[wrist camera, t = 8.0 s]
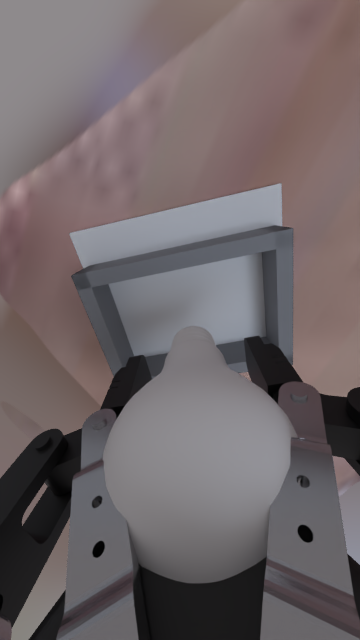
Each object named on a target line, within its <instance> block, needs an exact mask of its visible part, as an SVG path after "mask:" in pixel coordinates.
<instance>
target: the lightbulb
mask: <svg viewBox="0 0 360 640" xmlns="http://www.w3.org/2000/svg"><path fill="white" fill-rule="evenodd" d="M291 437H296V438H297V434H296V432H295V430H294V428H293V426H292V424H291V422H290V420H289V418H288V416H287V415H286V414H285V412H284V411H283V410H282V409H281V408H280V407H279V405H278V404H277V403H276V402H275V401H274V400H273V399H272V398H271V397H270V396H269V395H268V394H267V393H266V392H265V391H264V390H263V389H262V388H260V387H259V386H257V385H256V384H254V383H253V382H251V381H250V380H248V379H247V378H245V377H243V376H242V375H240V374H239V373H237V372H235V371H233V370H231V369H230V368H229V367H228V365H227V364H226V361H225V359H224V356H223V354H222V353H221V351H220V350H219V349H218V348H217V347H216V344H215V342H214V339H213V337H212V335H211V334H210V333H209V332H208V331H207V330H206V329H204V328H202V327H198V326H189V327H185V328H183V329H181V330H180V331H178V332H177V334H176V335H175V336H174V338H173V342H172V346H171V350H170V352H169V353H168V355H167V357H166V359H165V363H164V367H163V369H162V372H161V373H160V374H159V375H157V376H156V377H155V378H153V379H152V380H151V381H150V382H148V383H147V384H146V385H145V386H144V387H142V388H141V389H140V390H139V391H138V392H137V393H136V394H135V395H133V397H132V398H131V399H130V400H129V402H128V403H127V404H126V405H125V406H124V408H123V410H122V411H121V413H120V414H119V416H118V418H117V419H116V421H115V423H114V425H113V427H112V429H111V431H110V434H109V437H108V439H107V442H106V445H105V448H104V453H103V461H104V472H105V481H106V487H107V490H108V492H109V495H110V497H111V499H112V502H113V504H114V505H115V507H116V509H117V510H118V511H119V512H120V513H121V514H122V516H123V517H124V518H125V519H126V520H127V524H128V528H129V532H130V535H131V539H132V542H133V545H134V548H135V551H136V555H137V558H138V563H139V564H140V565H141V566H142V567H144V568H146V569H148V570H150V571H152V572H154V573H156V574H159V575H161V576H164V577H166V578H169V579H172V580H175V581H180V582H185V583H211V582H217V581H221V580H224V579H227V578H229V577H232V576H234V575H237V574H239V573H241V572H243V571H244V570H246V569H248V568H250V567H252V566H254V565H255V564H257V563H258V562H260V561H261V560H263V559H264V558H265V557H266V556H267V548H268V532H269V517H270V505H271V504H272V502H273V501H274V499H275V498H276V496H277V495H278V493H279V492H280V489H281V487H282V484H283V482H284V479H285V477H286V474H287V472H288V469H289V467H290V447H291Z"/></svg>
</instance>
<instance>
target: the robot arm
mask: <svg viewBox="0 0 360 640" xmlns="http://www.w3.org/2000/svg"><path fill="white" fill-rule="evenodd" d="M244 346H245V355H246V364H247V369H248V373H249V375H250V378H251V381H252V382H253V383H254V384H256V385H257V386H259V387H260V388H262V389H263V390H264V391H265V392H266V393H267V394H268V395H269V396H270V397H271V398H272V399H273V400H274V401H275V402H276V403H277V404H278V405H279V407H280V408H281V409H282V410H283V411H284V412H285V414H286V415H287V416H288V418H289V420H290V422H291V424H292V426H293V428H294V430H295V432H296V434H297V438H296V437H291V447H290V467H289V469H288V472H287V474H286V477H285V479H284V482H283V484H282V487H281V489H280V492H279V493H278V495H277V496H276V498H275V499H274V501H273V502H272V504H271V505H270V517H269V532H268V548H267V556H266V557H265V558H264V559H263V560H261V561H260V562H258V563H257V564H255V565H254V566H252V567H250V568H248V569H246V570H244V571H243V572H241V573H239V574H237V575H234V576H232V577H229V578H227V579H224V580H221V581H217V582H211V583H185V582H180V581H175V580H172V579H169V578H166V577H164V576H161V575H159V574H156V573H154V572H152V571H150V570H148V569H146V568H144V567H142V566H141V565H140V564H139V563H138V558H137V555H136V551H135V548H134V545H133V542H132V539H131V535H130V532H129V528H128V524H127V520H126V519H125V518H124V517H123V516H122V514H121V513H120V512H119V511H118V510H117V509H116V507H115V505H114V504H113V502H112V499H111V497H110V495H109V492H108V490H107V487H106V481H105V472H104V461H103V453H104V448H105V445H106V442H107V439H108V437H109V434H110V431H111V429H112V427H113V425H114V423H115V421H116V419H117V418H118V416H119V414H120V413H121V411H122V410H123V408H124V406H125V405H126V404H127V403H128V402H129V400H130V399H131V398H132V397H133V395H135V394H136V393H137V392H138V391H139V390H140V389H141V388H142V387H144V386H145V385H146V384H147V383H148V382H150V381H151V380H152V377H151V374H150V371H149V368H148V365H147V362H146V359H145V356H144V355H138V356H132V357H129V359H128V362H127V364H126V367H122V368H120V370H119V371H118V372H117V373H116V374H115V376H114V378H113V380H112V383H111V385H110V387H109V388H110V389H109V390H108V392H107V395H106V397H105V399H104V402H103V404H102V406H101V409H100V410H99V411H96V412H95V413H93V414H92V415H90V416H89V417H88V418H87V419H86V421H85V422H84V424H83V427H82V428H81V429H79V430H77V431H74V432H72V433H69V434H67V435H63V434H62V432H61V431H60V430H58V429H50V430H47V431H45V432H43V433H41V434H40V435H38V436H37V437H36V438H35V439H33V440H32V442H31V443H30V444H29V445H28V446H27V447H26V449H25V450H24V451H23V452H22V453H21V454H20V456H19V457H18V458H17V459H16V461H15V462H14V463H13V464H12V465H11V467H10V468H9V469H8V470H7V471H6V472H5V474H4V475H3V476H2V477H1V478H0V640H11V633H12V630H11V629H12V627H13V625H14V623H15V621H16V619H17V617H18V615H19V613H20V611H21V609H22V608H23V606H24V604H25V602H26V600H27V598H28V596H29V594H30V592H31V590H32V588H33V586H34V584H35V583H36V580H37V579H38V577H39V575H40V573H41V571H42V569H43V567H44V565H45V563H46V562H47V560H48V558H49V556H50V554H51V552H52V550H53V548H54V546H55V544H56V542H57V540H58V539H59V537H60V535H61V533H62V531H63V529H64V527H65V525H66V523H67V521H68V519H69V517H70V529H69V546H68V561H67V578H66V590H65V591H64V593H63V594H62V595H61V597H60V598H59V599H58V601H57V602H56V603H55V605H54V606H53V608H52V609H51V610H50V612H49V613H48V614H47V616H46V617H45V618H44V620H43V621H42V622H41V624H40V625H39V626H38V628H37V629H36V630H35V632H34V633H33V635H32V636H31V637H30V639H29V640H360V565H359V564H358V563H357V562H356V561H355V560H353V558H352V557H350V556H349V555H348V554H347V549H346V542H345V536H344V529H343V523H342V517H341V510H340V503H339V496H338V490H337V483H336V477H335V470H334V463H333V457H332V456H337V457H343V458H345V460H346V461H347V462H348V463H349V464H350V465H351V466H352V468H353V469H354V470H355V471H356V472H357V473H358V474H359V476H360V387H358V388H354V389H352V390H350V391H349V393H348V395H347V397H339V396H329V395H324V394H320V393H319V392H318V391H317V390H316V389H315V388H314V387H313V386H311V385H309V384H306V383H303V381H302V380H301V378H300V377H299V375H298V374H297V372H296V371H295V370H294V368H293V367H292V365H291V364H290V362H288V359H287V358H286V356H284V354H283V352H282V351H281V349H280V348H279V347H277V346H275V345H274V344H272V343H270V344H264V343H263V341H262V339H261V338H260V336H259V335H258V336H252V337H246V338H244ZM44 483H45V484H46V485H47V486H48V487H47V489H46V491H45V492H44V494H43V495H42V497H41V498H40V500H39V501H38V503H37V504H36V506H35V507H34V509H33V511H32V512H31V514H30V515H29V517H28V518H27V520H26V521H25V523H24V524H23V526H22V517H23V515H24V513H25V511H26V509H27V507H28V506H29V505H30V503H31V501H32V500H33V499H34V497H35V496H36V494H37V493H38V491H39V490H40V488H41V487H42V485H43V484H44Z"/></svg>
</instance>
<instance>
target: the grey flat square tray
mask: <svg viewBox="0 0 360 640" xmlns="http://www.w3.org/2000/svg"><path fill="white" fill-rule="evenodd" d="M69 234H70V237H71V239H72V242H73V244H74V247H75V249H76V252H77V254H78V257H79V259H80V262H81V264H82V267H83V269H82V270H80V271H79V272H77V273H75V274H74V275H72V276H71V277H72V279H73V282H74V284H75V286H76V289H77V291H78V293H79V296H80V298H81V300H82V303H83V305H84V307H85V310H86V312H87V315H88V317H89V319H90V322H91V324H92V326H93V329H94V331H95V333H96V336H97V338H98V340H99V343H100V345H101V347H102V350H103V352H104V355H105V357H106V359H107V362H108V364H109V366H110V369H111V371H112V373H113V376H115V374H116V373H117V372H118V371H119V370H120V368H122V367H126V364H127V362H128V359H129V357H132V356H138V355H144V356H145V359H146V362H147V365H148V368H149V371H150V374H151V377H152V379H153V378H155V377H156V376H157V375H159V374H160V373H161V372H162V369H163V367H164V363H165V359H166V357H167V355H168V353H169V352H170V350H171V346H172V342H173V338H174V336H175V335H176V334H177V332H178V331H180V330H181V329H183V328H185V327H189V326H198V327H202V328H204V329H206V330H207V331H208V332H209V333H210V334H211V335H212V337H213V339H214V342H215V344H216V347H217V348H218V349H219V350H220V351H221V353H222V354H223V356H224V359H225V361H226V364H227V365H228V367H229V368H230V369H231V370H233V371H235V372H237V373H243V372H248V369H247V364H246V355H245V346H244V338H246V337H252V336H258V335H259V336H260V338H261V339H262V341H263V343H264V344H270V343H272V344H274V345H275V346H277V347H279V348H280V349H281V351H282V352H283V354H284V356H286V358H287V359H288V362H290V364H291V365H293V228H289V227H283V226H282V184H281V183H280V184H275V185H271V186H267V187H263V188H259V189H254V190H250V191H246V192H242V193H237V194H233V195H229V196H225V197H220V198H216V199H212V200H208V201H203V202H199V203H195V204H191V205H186V206H182V207H178V208H174V209H170V210H165V211H161V212H157V213H153V214H148V215H144V216H140V217H136V218H131V219H127V220H123V221H119V222H114V223H110V224H106V225H102V226H97V227H93V228H89V229H85V230H81V231H76V232H72V233H69Z"/></svg>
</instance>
